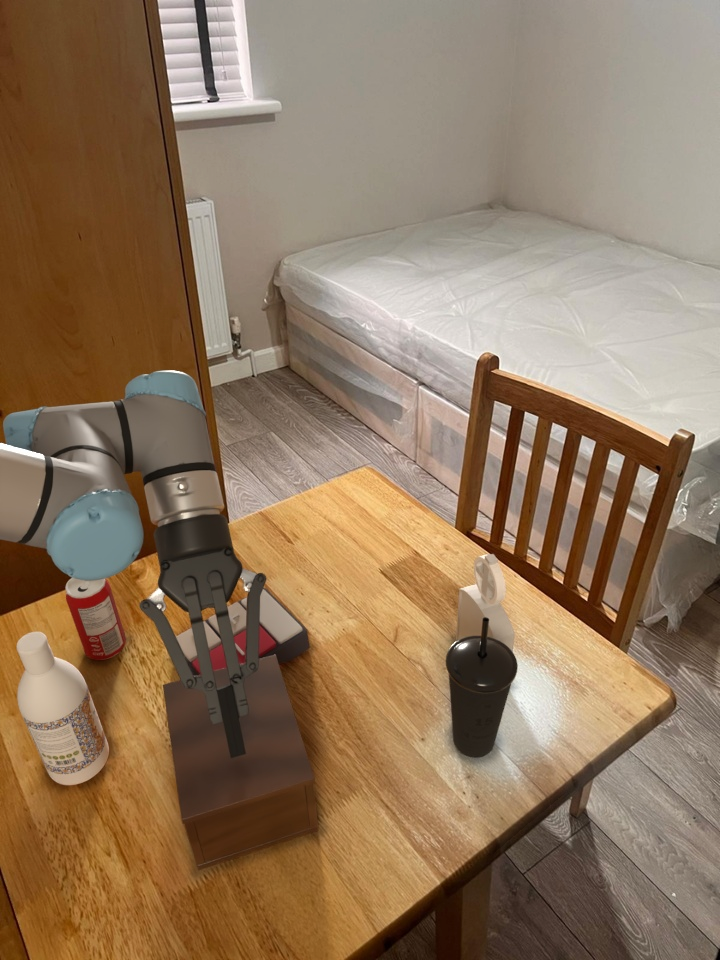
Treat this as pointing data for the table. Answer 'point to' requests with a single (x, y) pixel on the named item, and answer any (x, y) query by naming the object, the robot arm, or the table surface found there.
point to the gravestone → (485, 603)
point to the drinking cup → (478, 690)
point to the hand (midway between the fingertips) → (237, 753)
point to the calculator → (275, 634)
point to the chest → (253, 826)
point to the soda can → (95, 617)
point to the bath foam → (59, 713)
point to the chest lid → (205, 754)
